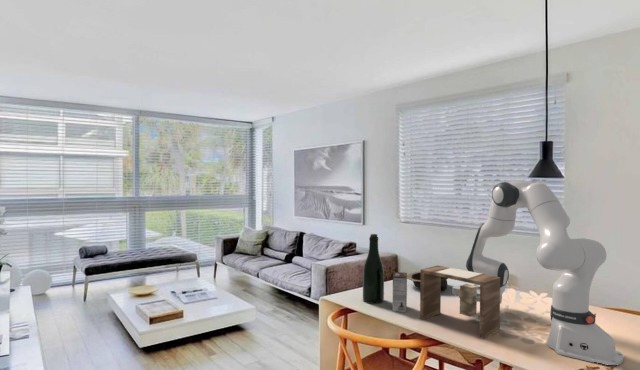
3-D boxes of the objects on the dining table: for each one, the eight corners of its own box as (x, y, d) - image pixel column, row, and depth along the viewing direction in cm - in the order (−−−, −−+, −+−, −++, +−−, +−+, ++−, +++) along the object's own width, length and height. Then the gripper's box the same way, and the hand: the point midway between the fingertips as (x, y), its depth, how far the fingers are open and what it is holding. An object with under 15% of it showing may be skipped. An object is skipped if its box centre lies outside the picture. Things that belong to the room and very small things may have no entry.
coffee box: (392, 305, 189) (393, 271, 188) (406, 306, 187) (406, 272, 187) (392, 311, 180) (392, 276, 179) (406, 312, 178) (407, 277, 178)
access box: (499, 329, 158) (500, 276, 158) (483, 338, 149) (484, 282, 149) (437, 311, 179) (437, 264, 179) (420, 318, 170) (420, 269, 170)
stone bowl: (462, 288, 217) (461, 272, 217) (431, 299, 203) (431, 282, 203) (426, 278, 238) (426, 263, 237) (396, 288, 224) (396, 271, 223)
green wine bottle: (360, 302, 192) (361, 234, 191) (364, 296, 202) (364, 232, 201) (382, 304, 189) (383, 235, 189) (385, 298, 199) (385, 233, 199)
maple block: (476, 314, 170) (476, 286, 169) (470, 316, 166) (471, 288, 166) (465, 311, 173) (465, 283, 173) (459, 313, 170) (460, 285, 170)
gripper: (461, 280, 186) (445, 285, 177) (505, 289, 171) (490, 295, 161) (461, 293, 186) (445, 299, 177) (505, 304, 171) (490, 311, 162)
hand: (467, 297), depth 169 cm, fingers closed on maple block, 5 cm apart
